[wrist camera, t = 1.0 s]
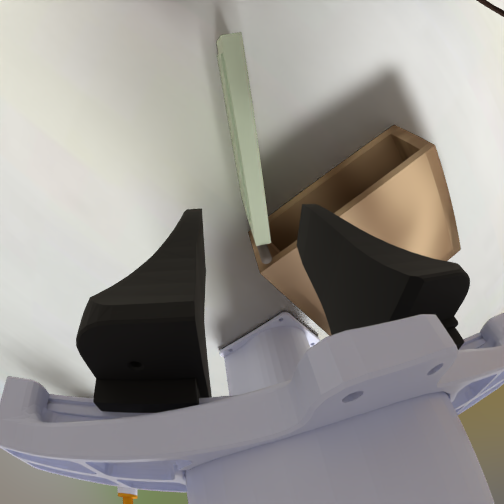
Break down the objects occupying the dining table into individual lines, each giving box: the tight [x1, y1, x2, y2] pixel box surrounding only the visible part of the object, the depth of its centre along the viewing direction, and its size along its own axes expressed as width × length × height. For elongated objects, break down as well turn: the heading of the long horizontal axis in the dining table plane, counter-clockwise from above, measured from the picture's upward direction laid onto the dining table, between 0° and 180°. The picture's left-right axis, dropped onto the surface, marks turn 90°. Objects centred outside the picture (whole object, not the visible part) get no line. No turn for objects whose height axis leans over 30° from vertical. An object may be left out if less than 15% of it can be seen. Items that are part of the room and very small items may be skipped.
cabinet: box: [248, 125, 461, 336], centre depth 23 cm, size 15×13×5 cm
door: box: [216, 32, 271, 246], centre depth 17 cm, size 13×1×5 cm, turn 8°
